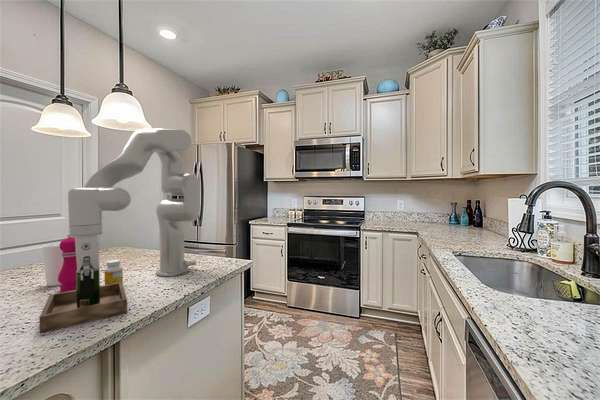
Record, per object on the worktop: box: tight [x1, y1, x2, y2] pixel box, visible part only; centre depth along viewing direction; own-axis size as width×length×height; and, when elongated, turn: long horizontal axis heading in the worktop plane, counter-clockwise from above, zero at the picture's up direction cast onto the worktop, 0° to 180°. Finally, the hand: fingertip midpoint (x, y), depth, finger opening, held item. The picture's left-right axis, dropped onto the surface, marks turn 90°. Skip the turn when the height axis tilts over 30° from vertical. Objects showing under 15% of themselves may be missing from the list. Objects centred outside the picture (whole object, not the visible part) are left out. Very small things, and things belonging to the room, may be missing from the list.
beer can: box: [76, 268, 101, 308], centre depth 78 cm, size 5×5×12 cm
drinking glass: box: [42, 242, 64, 287], centre depth 100 cm, size 7×7×15 cm
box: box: [39, 282, 128, 334], centre depth 78 cm, size 18×18×4 cm
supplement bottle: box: [104, 259, 124, 285], centre depth 96 cm, size 5×5×10 cm
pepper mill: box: [58, 233, 77, 293], centre depth 95 cm, size 7×7×20 cm
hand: (88, 288), depth 78 cm, fingers open, 9 cm apart
